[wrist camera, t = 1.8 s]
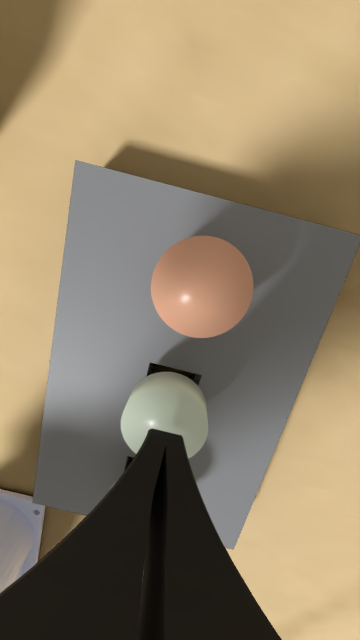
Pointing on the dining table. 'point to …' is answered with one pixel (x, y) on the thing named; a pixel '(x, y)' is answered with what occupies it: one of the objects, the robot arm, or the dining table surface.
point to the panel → (178, 337)
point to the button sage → (166, 411)
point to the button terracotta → (202, 286)
